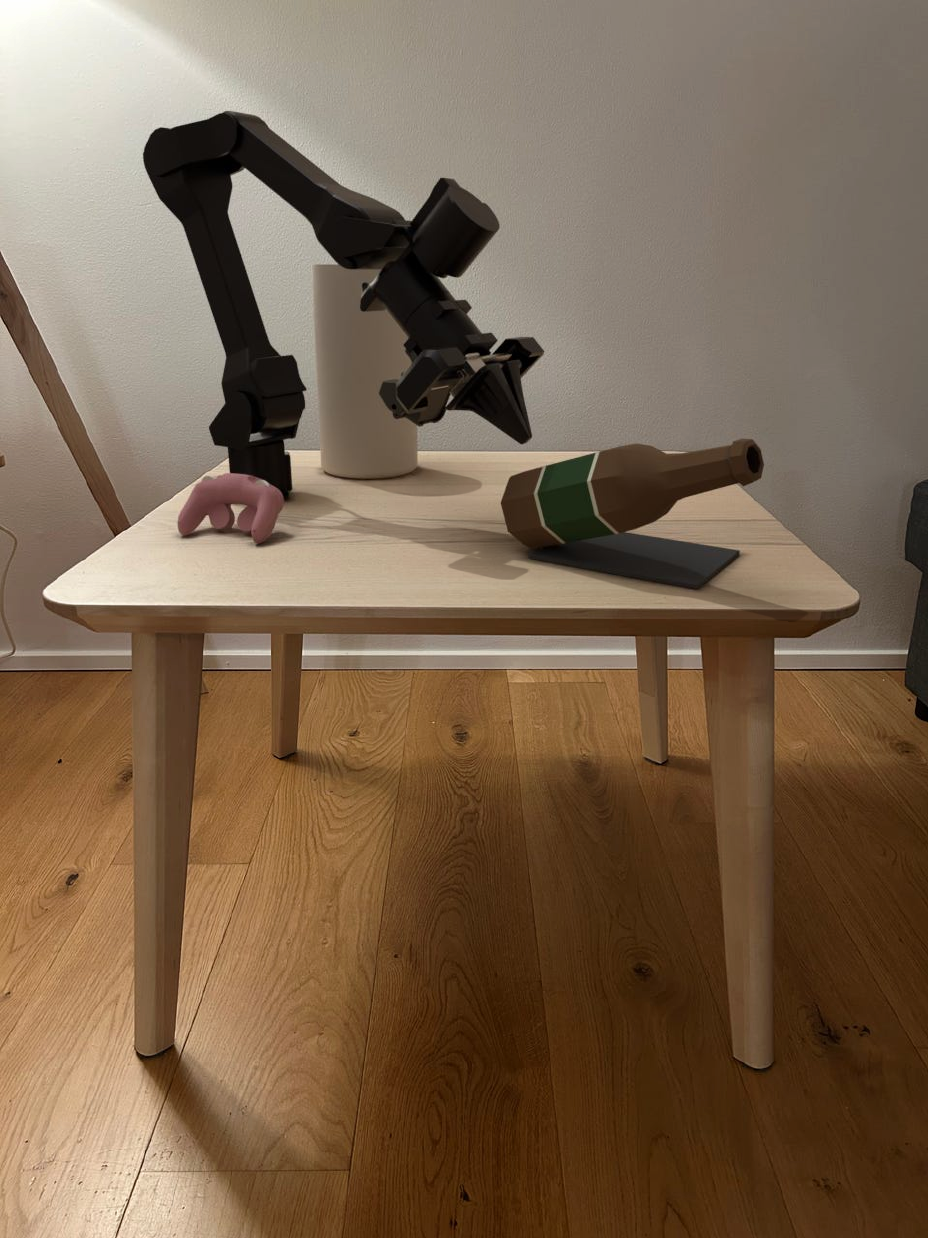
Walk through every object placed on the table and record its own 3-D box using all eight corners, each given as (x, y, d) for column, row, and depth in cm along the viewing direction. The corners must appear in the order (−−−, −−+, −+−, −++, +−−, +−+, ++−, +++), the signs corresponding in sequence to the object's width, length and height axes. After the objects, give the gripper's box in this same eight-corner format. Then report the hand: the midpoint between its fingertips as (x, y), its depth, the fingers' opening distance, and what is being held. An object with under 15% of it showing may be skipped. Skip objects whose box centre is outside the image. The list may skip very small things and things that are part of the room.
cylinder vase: (301, 471, 121) (289, 264, 112) (364, 456, 130) (358, 264, 122) (375, 484, 114) (369, 265, 105) (436, 467, 124) (435, 265, 115)
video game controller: (281, 551, 93) (293, 482, 94) (259, 542, 89) (271, 470, 89) (196, 541, 96) (208, 475, 97) (170, 532, 92) (182, 462, 92)
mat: (528, 558, 86) (528, 554, 86) (584, 529, 96) (584, 525, 96) (697, 589, 79) (697, 585, 78) (739, 554, 88) (740, 550, 88)
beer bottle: (485, 498, 86) (715, 442, 68) (528, 453, 90) (754, 390, 73) (526, 566, 89) (756, 529, 71) (565, 520, 93) (790, 474, 76)
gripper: (433, 364, 102) (520, 476, 100) (321, 381, 87) (421, 513, 85) (497, 288, 95) (591, 407, 94) (387, 292, 80) (497, 434, 79)
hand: (527, 441), depth 88 cm, fingers closed
